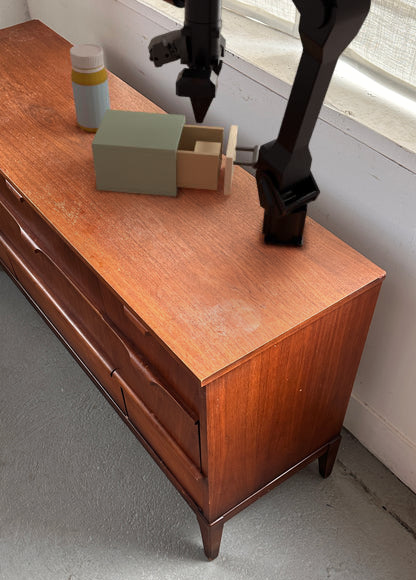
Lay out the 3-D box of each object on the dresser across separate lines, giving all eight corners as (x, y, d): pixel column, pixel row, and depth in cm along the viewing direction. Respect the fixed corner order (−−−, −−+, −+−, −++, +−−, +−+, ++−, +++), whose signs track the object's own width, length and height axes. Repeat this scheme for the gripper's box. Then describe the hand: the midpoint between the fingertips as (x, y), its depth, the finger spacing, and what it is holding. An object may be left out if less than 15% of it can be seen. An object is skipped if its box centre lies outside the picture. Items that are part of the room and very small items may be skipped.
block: (220, 165, 117) (221, 142, 114) (217, 178, 114) (218, 155, 111) (196, 163, 117) (196, 140, 114) (193, 176, 114) (193, 153, 111)
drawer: (259, 163, 120) (263, 127, 115) (256, 197, 112) (260, 160, 107) (165, 156, 121) (164, 119, 115) (156, 188, 113) (154, 151, 108)
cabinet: (185, 160, 122) (185, 115, 115) (176, 196, 113) (175, 150, 107) (111, 154, 123) (106, 109, 116) (96, 190, 114) (91, 143, 107)
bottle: (105, 135, 127) (97, 59, 116) (72, 131, 128) (61, 55, 117) (116, 119, 132) (109, 44, 120) (84, 115, 133) (75, 40, 121)
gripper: (160, -8, 103) (163, 87, 115) (140, 37, 91) (145, 138, 102) (228, -3, 102) (223, 92, 114) (216, 42, 90) (213, 143, 102)
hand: (201, 115), depth 108 cm, fingers open, 5 cm apart
